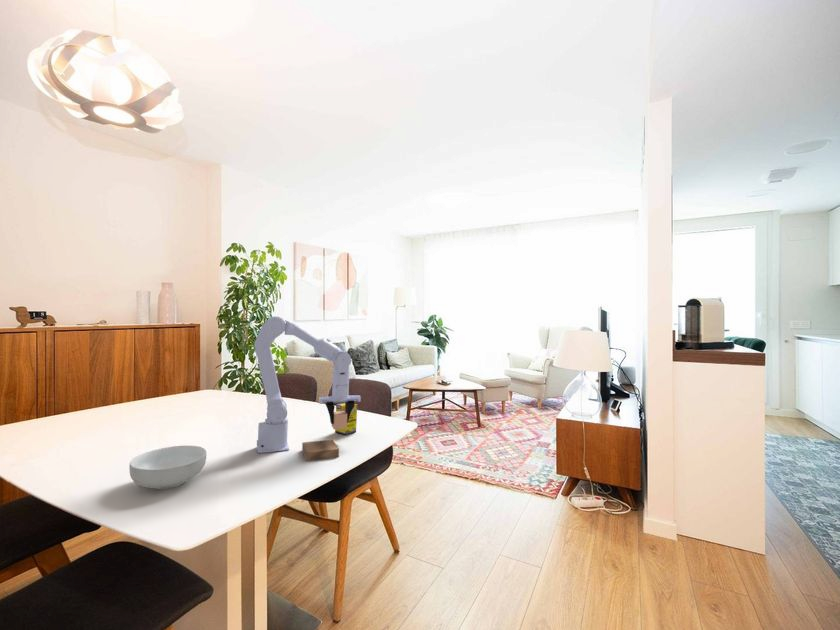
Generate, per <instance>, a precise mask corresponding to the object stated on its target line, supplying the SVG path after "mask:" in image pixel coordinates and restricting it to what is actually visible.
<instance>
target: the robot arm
mask: <svg viewBox="0 0 840 630" xmlns="http://www.w3.org/2000/svg"><path fill="white" fill-rule="evenodd" d="M282 334H284V335H285V336H294V337H295V338H298V339H299V340H301V341H303V342H304V343H306V344H308V345H310V346H311V347H313V351H314V353H316V354H317V355H318V356H321V357H322V358H323V359H326V360H327V361H329V362H332V364H333V371H332V389H331V390H332V391H331V393H332V394H331V395H330V396H320V397H318V404H320V405H323V404H325V406H326V409H327V412H328V415H329V419H330V424H331V425H332V424H334V412H335V409H336V405H335V404H336V403H337V404H339V403H345V412H346V413H347V423H348V420H349V416H350V414H351V411H352V409H353V407H354V406H355V404H356V403H355V402H360V403H361V399H362V398H361V397H362V396H361V395H359V394H358V395H350V394H349V393H350V392H349V391H350V388H349V387H350V365H351V363H352V360H353V359H352V357H351V355H350V353H348V352H346V351H345V350H344V349H343V348H342V347H341V346H336V345H335V344H334V343H332V342H331V340H330V339H329V338H320V339H318V338H317V337H316V336H314V335H312V334H311V333H309V332H308V331H306V330H305V329H303V328H302V327H300V326H299V325H297V324H295V323H293V322H290V321H289V320H286V319H285V320H284V319H283V318H282V317H280V316H272V317H269V318H268V319H267V320H266V321H265V322H264V323H263V324H262V325H261V328H260V330H259V332H258V335H256V336H257V337H256V339H255V341H254V349H255V353H256V357H257V358H256V359H257V361H258V366H259V370H260V375H261V381H262V383H263V388H264V392H265V397H266V398H265V399H266V404H267V407H266V418H265V419H264V421H263V422H259V423H258V425H257V426H258V429H257V439H256V446H257V453H258V454H262V453H263V454H264V453H272V452H273V453H274V452H280V451H289V450H290V447H289V443H288V431H289V430H288V429H289V428H288V427H289V426H288V425H289V418H288V417H287V416H288V410H287V403H286V401H285V400H283V397H282V394H281V390H280V386H279V380H278V376H277V373H276V368H275V363H274V359H273V354H272V351H271V346H272V344H273V342H275V340H276V339H277V338H278V337H279V336H281V335H282Z"/></svg>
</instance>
